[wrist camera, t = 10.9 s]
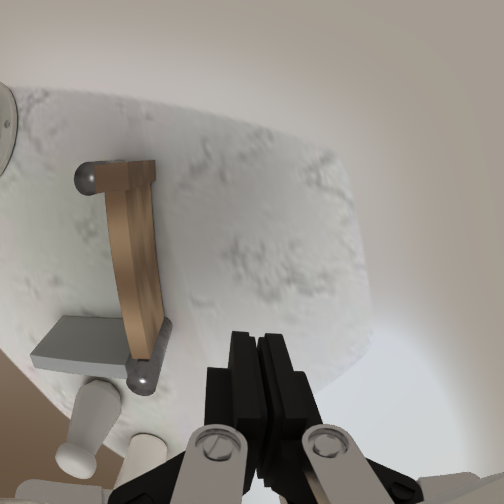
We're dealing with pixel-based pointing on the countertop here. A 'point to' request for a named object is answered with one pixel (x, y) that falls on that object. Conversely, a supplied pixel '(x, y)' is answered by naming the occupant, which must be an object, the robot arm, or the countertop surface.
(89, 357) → the grey rectangular slab
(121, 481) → the drinking glass
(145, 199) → the gate
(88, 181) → the post
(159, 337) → the hinge post
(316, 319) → the countertop surface
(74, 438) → the salt shaker
